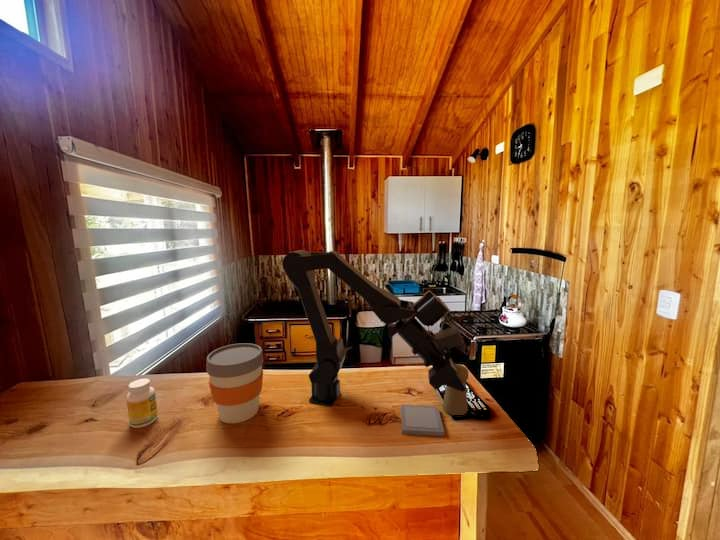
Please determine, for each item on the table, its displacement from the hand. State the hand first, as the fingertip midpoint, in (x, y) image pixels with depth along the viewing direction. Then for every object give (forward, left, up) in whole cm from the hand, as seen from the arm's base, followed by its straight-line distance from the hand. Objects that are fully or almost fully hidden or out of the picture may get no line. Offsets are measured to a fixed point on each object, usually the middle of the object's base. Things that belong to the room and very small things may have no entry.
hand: (462, 384), depth 72 cm
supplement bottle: (-71, -24, -7) cm, 75 cm away
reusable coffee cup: (-52, -15, -7) cm, 55 cm away
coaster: (-9, -7, -7) cm, 13 cm away
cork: (-1, 0, -7) cm, 7 cm away
